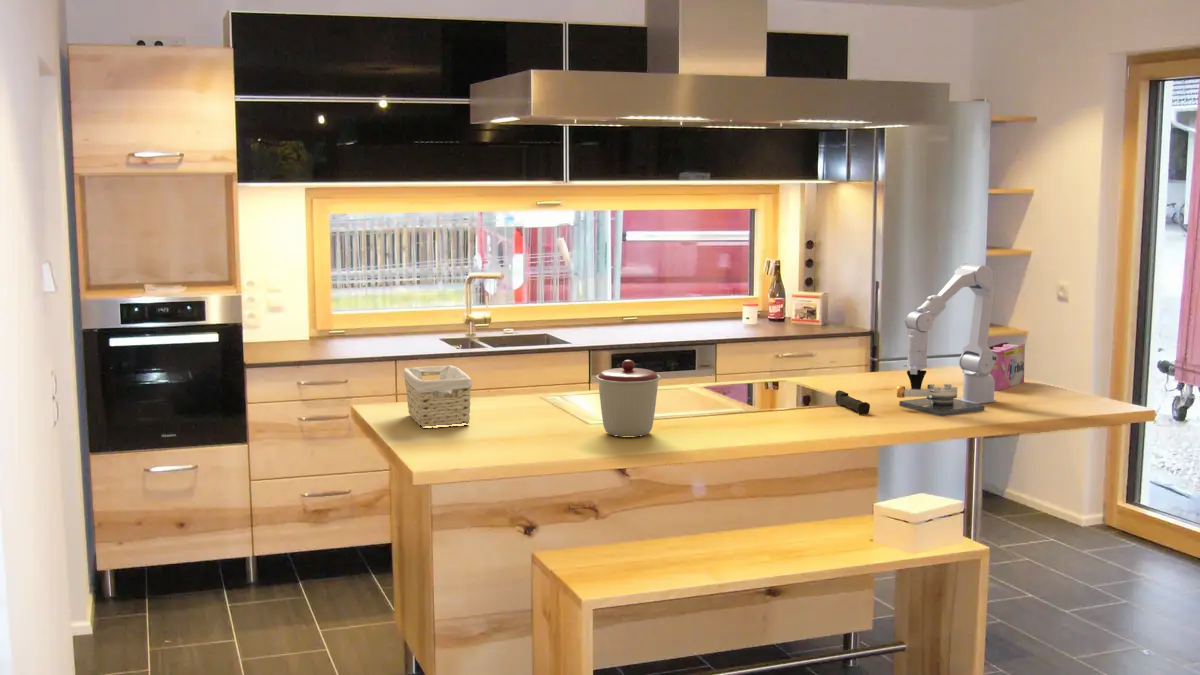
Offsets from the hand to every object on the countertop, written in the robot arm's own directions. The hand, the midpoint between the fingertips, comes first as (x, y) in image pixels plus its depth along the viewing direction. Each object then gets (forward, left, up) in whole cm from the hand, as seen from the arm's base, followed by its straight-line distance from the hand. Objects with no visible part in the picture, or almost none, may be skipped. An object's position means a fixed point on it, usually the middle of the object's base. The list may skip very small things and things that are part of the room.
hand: (915, 393), depth 365 cm
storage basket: (+139, -51, -5) cm, 148 cm away
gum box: (-53, -15, -5) cm, 55 cm away
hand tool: (+20, -8, -5) cm, 22 cm away
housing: (-6, +5, -4) cm, 9 cm away
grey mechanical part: (-2, +3, -1) cm, 4 cm away
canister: (+98, -9, -5) cm, 98 cm away
